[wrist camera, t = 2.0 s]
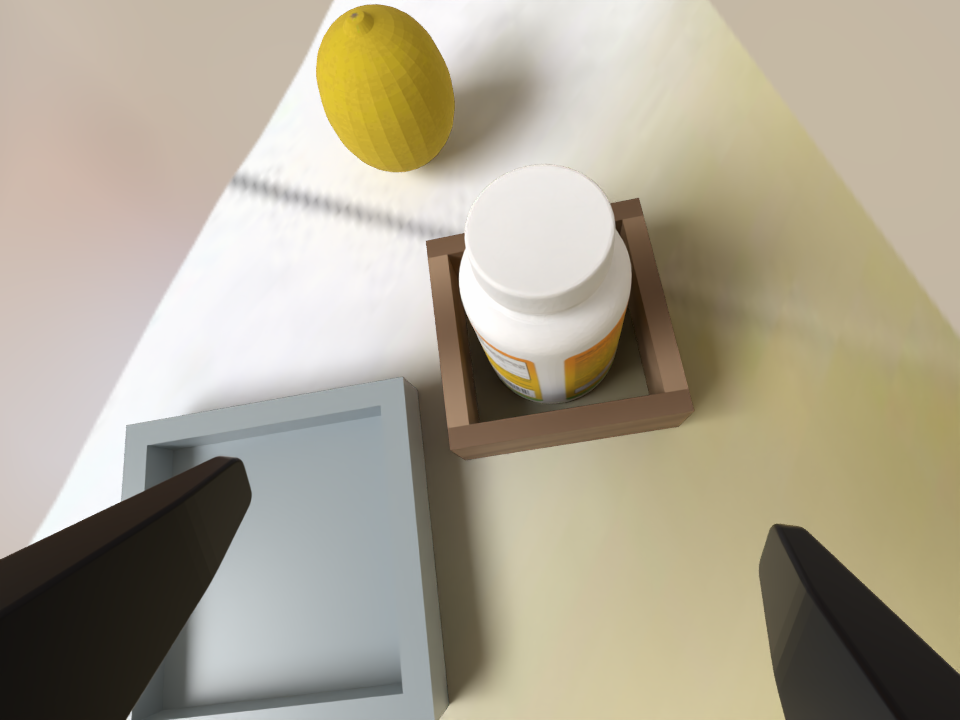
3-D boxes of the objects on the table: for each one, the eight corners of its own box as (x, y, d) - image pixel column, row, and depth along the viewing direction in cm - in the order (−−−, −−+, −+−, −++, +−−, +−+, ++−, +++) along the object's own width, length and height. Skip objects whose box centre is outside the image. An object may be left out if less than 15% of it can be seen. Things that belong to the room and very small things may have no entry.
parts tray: (449, 704, 20) (435, 724, 18) (148, 737, 22) (103, 759, 19) (417, 390, 24) (402, 376, 22) (162, 434, 25) (126, 425, 23)
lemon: (459, 98, 28) (418, -60, 21) (476, 190, 26) (438, 54, 19) (356, 125, 29) (279, -20, 21) (366, 216, 27) (285, 93, 19)
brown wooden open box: (678, 426, 22) (694, 411, 19) (465, 460, 23) (449, 450, 20) (631, 236, 24) (638, 197, 22) (442, 273, 25) (425, 240, 23)
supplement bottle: (611, 281, 24) (635, 128, 15) (621, 403, 22) (655, 315, 13) (488, 290, 25) (439, 150, 16) (489, 408, 23) (435, 329, 14)
